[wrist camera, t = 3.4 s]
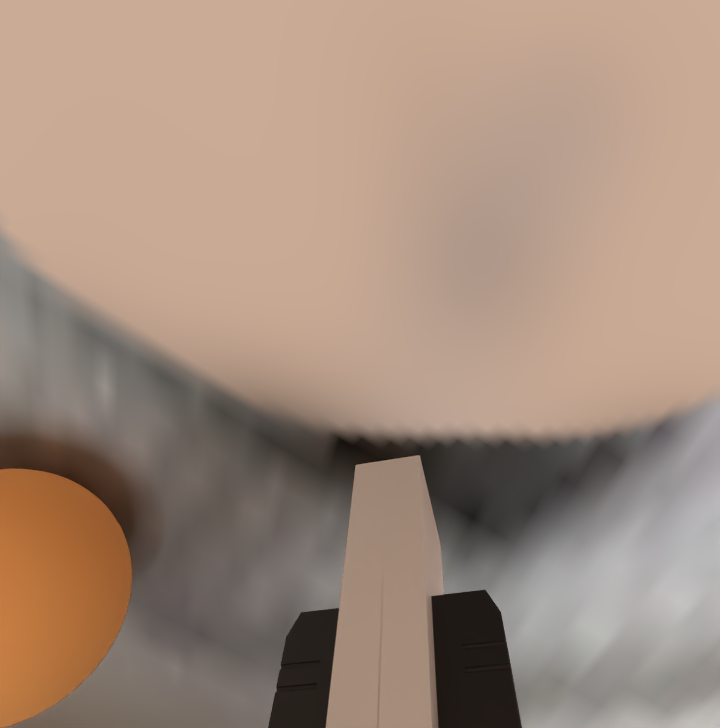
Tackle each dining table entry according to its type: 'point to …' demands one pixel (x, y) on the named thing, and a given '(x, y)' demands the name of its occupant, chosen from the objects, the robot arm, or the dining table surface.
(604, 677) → the dining table surface
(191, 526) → the dining table surface
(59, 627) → the ball
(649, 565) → the dining table surface
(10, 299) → the dining table surface
